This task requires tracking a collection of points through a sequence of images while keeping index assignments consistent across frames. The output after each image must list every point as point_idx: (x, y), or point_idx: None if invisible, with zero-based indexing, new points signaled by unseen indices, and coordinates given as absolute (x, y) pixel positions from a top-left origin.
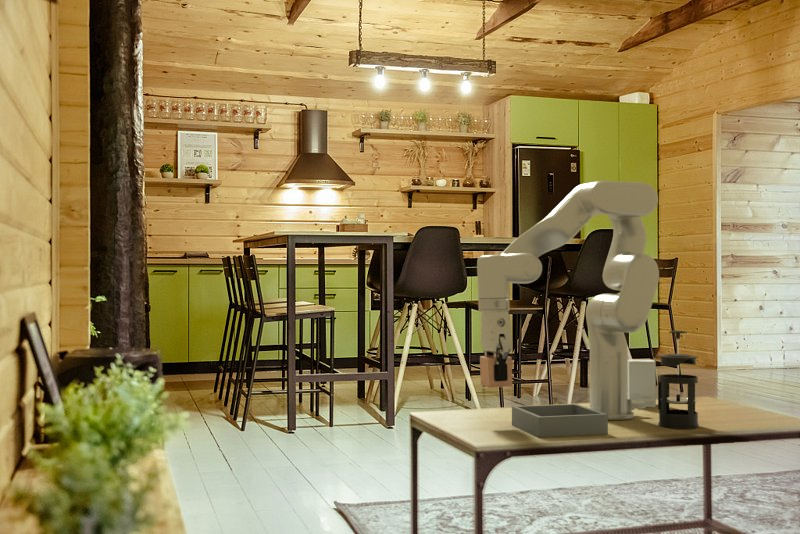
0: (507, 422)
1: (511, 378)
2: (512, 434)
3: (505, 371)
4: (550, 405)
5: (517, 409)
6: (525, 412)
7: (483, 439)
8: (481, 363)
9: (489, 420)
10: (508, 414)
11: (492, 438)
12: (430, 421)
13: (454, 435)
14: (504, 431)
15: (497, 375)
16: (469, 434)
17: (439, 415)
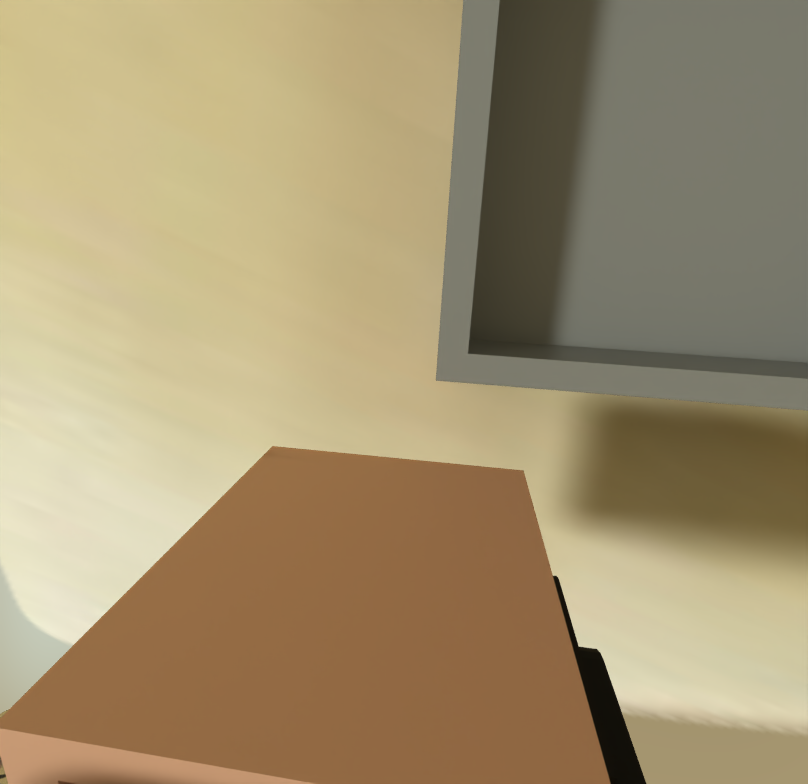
0: (357, 344)
1: (533, 522)
2: (711, 476)
3: None
4: (493, 51)
5: (551, 389)
6: (715, 402)
7: (765, 650)
8: None
9: (273, 408)
10: (102, 223)
11: (763, 606)
12: None
13: None
14: (610, 475)
15: None
16: (615, 649)
17: (93, 565)
